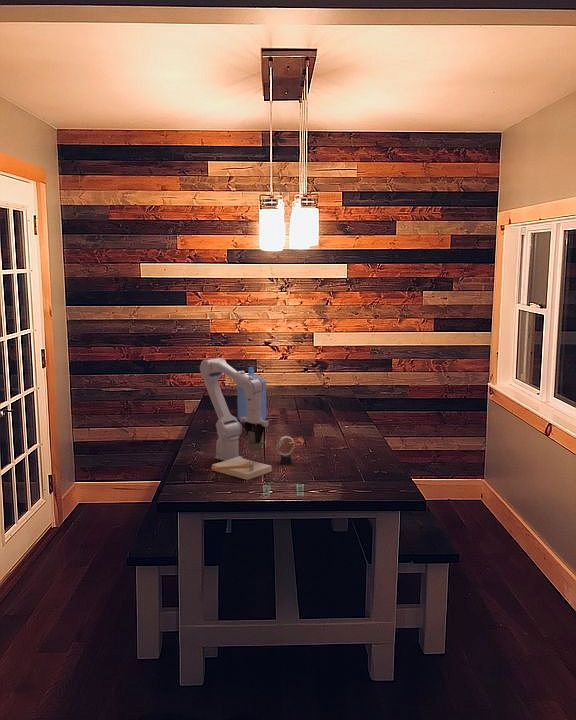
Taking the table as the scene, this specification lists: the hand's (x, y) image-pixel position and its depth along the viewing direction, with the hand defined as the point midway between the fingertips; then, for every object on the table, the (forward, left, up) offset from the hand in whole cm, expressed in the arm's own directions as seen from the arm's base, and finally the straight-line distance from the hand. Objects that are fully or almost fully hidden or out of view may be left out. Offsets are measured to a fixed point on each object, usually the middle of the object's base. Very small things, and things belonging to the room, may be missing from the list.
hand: (254, 441), depth 284 cm
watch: (+7, +11, -11) cm, 17 cm away
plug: (0, 0, -4) cm, 4 cm away
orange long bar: (+4, -17, -7) cm, 19 cm away
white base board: (+1, -9, -10) cm, 14 cm away
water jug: (-60, +60, -11) cm, 86 cm away
